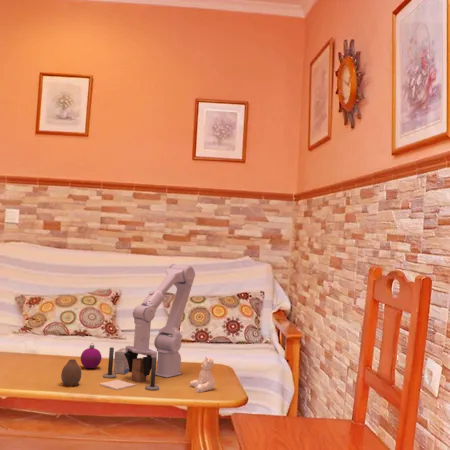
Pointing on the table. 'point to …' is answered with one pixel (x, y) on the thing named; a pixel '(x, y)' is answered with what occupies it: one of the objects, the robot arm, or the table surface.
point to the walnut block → (138, 370)
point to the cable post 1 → (110, 365)
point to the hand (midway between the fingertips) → (139, 373)
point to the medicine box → (120, 362)
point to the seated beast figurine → (204, 377)
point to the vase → (71, 373)
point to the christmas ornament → (91, 357)
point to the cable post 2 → (152, 377)
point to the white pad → (117, 384)
